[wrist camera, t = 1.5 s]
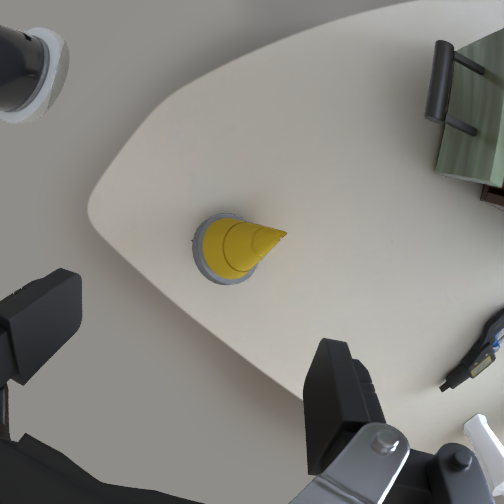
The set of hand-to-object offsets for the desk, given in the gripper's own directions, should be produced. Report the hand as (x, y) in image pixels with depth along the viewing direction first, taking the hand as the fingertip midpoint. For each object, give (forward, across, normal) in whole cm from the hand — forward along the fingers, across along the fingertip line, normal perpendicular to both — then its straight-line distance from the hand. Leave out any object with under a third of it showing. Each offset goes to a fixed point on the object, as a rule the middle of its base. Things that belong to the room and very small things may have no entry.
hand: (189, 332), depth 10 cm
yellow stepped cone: (+17, 0, +1) cm, 17 cm away
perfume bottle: (+18, -37, +19) cm, 45 cm away
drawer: (+16, -19, -14) cm, 29 cm away
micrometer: (+18, -28, +7) cm, 34 cm away
